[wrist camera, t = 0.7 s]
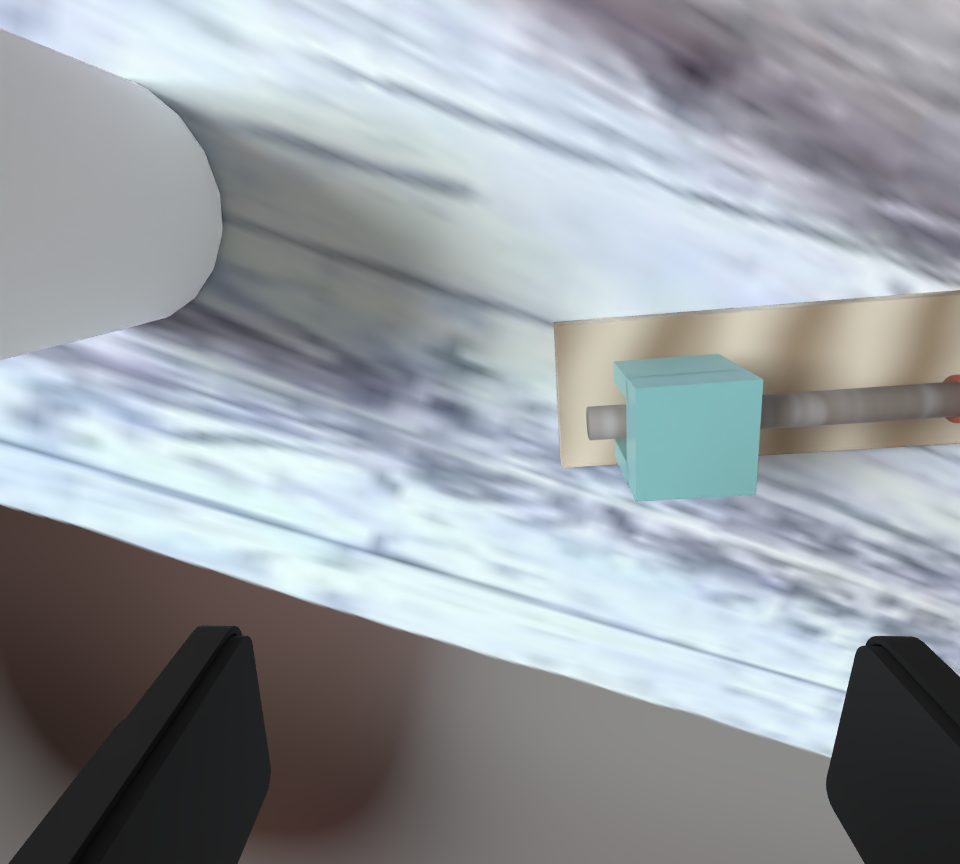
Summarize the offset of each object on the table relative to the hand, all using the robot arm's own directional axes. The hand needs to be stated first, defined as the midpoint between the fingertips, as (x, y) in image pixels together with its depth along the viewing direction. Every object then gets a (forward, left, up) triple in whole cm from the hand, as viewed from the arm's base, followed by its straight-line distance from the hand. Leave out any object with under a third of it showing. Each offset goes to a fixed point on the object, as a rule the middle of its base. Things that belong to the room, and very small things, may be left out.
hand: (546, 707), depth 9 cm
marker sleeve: (-7, +2, -21) cm, 23 cm away
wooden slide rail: (-15, +2, -26) cm, 30 cm away
